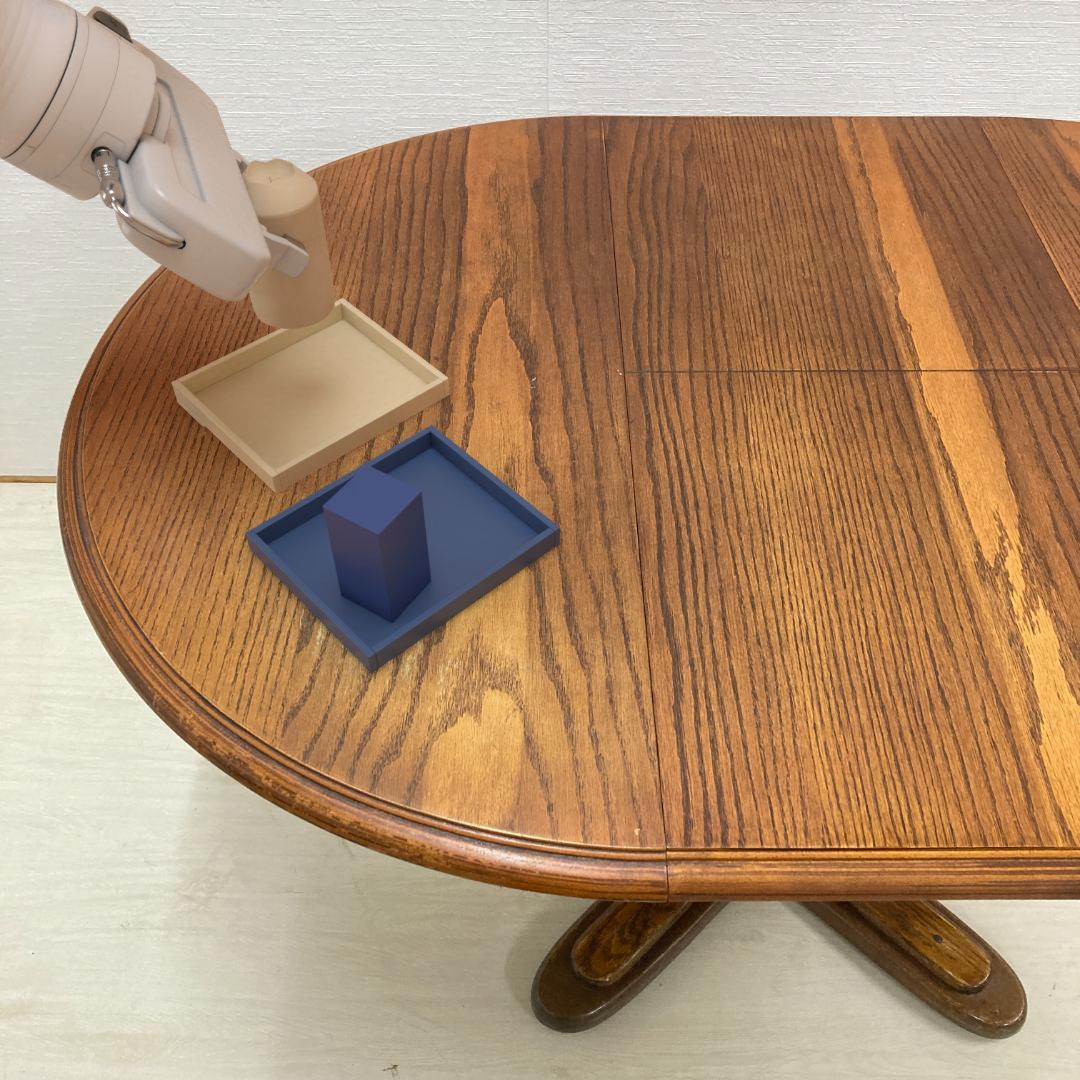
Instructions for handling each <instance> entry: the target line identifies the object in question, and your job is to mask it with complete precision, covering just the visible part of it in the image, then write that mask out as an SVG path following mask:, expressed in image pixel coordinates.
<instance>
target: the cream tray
mask: <svg viewBox="0 0 1080 1080" xmlns="http://www.w3.org/2000/svg"><path fill="white" fill-rule="evenodd" d="M171 385H172V389H173V392H174V395H175V399H176V401H177V404H178V405H179V406H180V407H182V409H184V410H185V411H186V413H188V414H189V415H190V417H192V418H193V419H194V420H195V421H196V422H197V423H198V424H199V425H200V426H201V427H202V428H204V427H205V428H206V429H208V430H209V431H210V432H211V433H212V434H213V435H214V436H215V437H216V438H217V439H218V440H219V441H220V442H221V443H222V444H223V445H224V446H226V447H227V448H228V450H230V451H231V452H232V454H233V455H234V456H236V457H237V458H238V459H239V460H240V461H241V462H242V463H244V465H245V466H246V467H247V468H248V469H250V470H251V471H252V473H254V474H255V475H256V476H257V477H258V478H259V479H260V480H261V481H262V482H263V483H264V484H265V485H266V486H268V488H270V489H271V491H273V492H274V494H278V493H280V492H282V491H284V490H285V489H287V488H289V487H291V486H292V485H294V484H296V483H298V482H299V481H302V480H303V479H304V478H306V477H308V476H310V475H312V474H313V473H315V472H317V471H318V470H321V469H323V468H324V467H325V466H327V465H329V464H331V463H333V462H334V461H336V460H339V458H341V457H344V456H345V455H347V454H349V453H350V452H352V451H354V450H356V449H357V448H359V447H361V446H362V445H364V444H367V443H368V442H370V441H371V440H373V439H375V438H376V437H378V436H380V435H382V434H384V433H385V432H387V431H389V430H390V429H392V428H394V427H396V426H398V425H399V424H402V422H404V421H406V420H408V419H410V418H411V417H413V416H416V415H417V414H419V413H421V412H423V411H424V410H427V408H429V407H431V406H433V405H435V404H436V403H438V402H440V401H441V400H443V399H445V398H447V397H449V396H450V395H451V390H450V379H449V377H448V376H446V374H444V373H442V371H440V370H439V369H437V367H435V366H433V365H432V364H431V363H429V362H428V361H427V360H425V358H423V357H422V356H420V355H419V354H418V353H416V352H415V351H413V350H412V349H411V348H409V347H408V346H407V345H406V344H404V343H403V342H401V341H400V340H399V339H398V338H396V336H394V335H392V334H391V333H390V332H389V331H387V329H385V328H383V326H381V325H379V324H378V323H377V322H375V321H374V320H373V319H372V318H370V317H369V316H367V315H366V314H365V313H363V312H362V311H361V310H359V309H358V308H357V307H356V306H354V305H353V304H351V303H350V302H349V301H348V300H346V299H345V298H344V297H342V298H340V299H338V300H335V305H334V308H333V310H332V311H331V313H330V314H329V315H328V316H327V317H326V318H324V319H323V320H321V321H320V322H318V323H316V324H313V325H310V326H307V327H303V328H297V329H281V328H278V329H277V330H275V331H273V332H271V333H269V334H267V335H264V336H262V337H260V338H259V339H256V340H254V341H253V342H250V343H248V344H246V345H244V346H242V347H239V348H238V349H236V350H234V351H232V352H230V353H228V354H225V355H224V356H222V357H220V358H218V359H216V360H214V361H212V362H209V363H208V364H206V365H204V366H201V367H199V368H198V369H195V370H194V371H191V372H189V373H187V374H185V375H183V376H181V377H179V378H177V379H175V380H173V381H171Z"/></svg>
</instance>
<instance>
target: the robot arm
mask: <svg viewBox="0 0 1080 1080" xmlns="http://www.w3.org/2000/svg"><path fill="white" fill-rule="evenodd" d="M0 160H3V161H4V162H6V163H8V164H10V165H12V166H13V167H16V168H18V169H19V170H21V171H23V172H24V173H27V174H28V175H31V176H33V177H34V178H36V179H38V180H40V181H42V182H45V183H46V184H48V185H50V186H51V187H54V188H55V189H57V190H59V191H61V192H63V193H65V194H67V195H68V196H71V197H72V198H74V199H76V200H78V201H89V200H92V199H94V198H95V197H97V196H99V195H100V198H101V200H102V202H103V204H104V205H105V206H106V207H107V208H109V209H112V210H114V213H115V219H116V222H117V226H118V229H119V230H120V232H121V233H122V234H123V236H124V238H125V239H126V240H127V242H129V243H130V244H131V245H132V246H133V247H135V248H136V249H137V250H138V251H140V252H141V253H143V254H144V255H146V256H147V257H149V259H151V260H153V261H154V262H156V263H157V264H159V265H161V266H162V267H164V268H165V269H167V270H169V271H170V272H172V273H174V274H176V276H178V277H181V279H184V280H186V281H187V282H189V283H191V284H193V285H194V286H196V287H198V288H199V289H201V290H203V291H204V292H206V293H208V294H210V295H212V296H213V297H216V298H217V299H220V300H222V301H226V302H241V301H242V300H244V299H245V298H246V297H247V296H248V295H249V292H250V291H251V289H252V288H253V287H254V286H255V285H256V283H257V282H258V281H259V279H260V278H261V277H262V275H263V274H264V273H265V271H266V270H267V268H274V269H276V270H278V271H280V272H282V273H284V274H285V275H287V276H289V277H291V278H296V277H299V276H300V275H301V274H302V272H303V271H304V270H305V269H306V267H307V266H308V265H309V263H310V258H309V255H308V254H307V251H306V249H305V247H304V245H303V244H302V243H301V242H299V241H296V240H295V239H294V238H292V237H290V236H289V235H287V234H284V235H283V236H282V237H279V236H276V235H274V234H271V233H268V231H267V228H266V227H265V226H263V225H262V224H260V223H259V221H258V218H257V216H256V213H255V210H254V207H253V205H252V202H251V199H250V196H249V194H248V191H247V188H246V186H245V183H244V180H243V177H242V175H241V174H242V173H243V172H244V170H245V169H246V168H247V166H248V165H249V163H250V162H249V161H248V160H247V159H246V158H245V157H244V156H243V155H242V154H241V153H240V152H238V151H237V150H235V149H234V148H232V145H231V142H230V139H229V136H228V133H227V131H226V129H225V126H224V124H223V120H222V117H221V115H220V112H219V109H218V106H217V105H216V103H215V102H214V100H212V99H211V97H210V96H209V95H208V94H207V93H206V91H204V90H203V89H202V88H201V87H200V86H199V85H197V84H196V83H195V82H194V81H193V80H191V79H190V78H189V77H188V76H186V75H185V74H184V73H182V72H181V71H180V70H178V69H177V68H176V67H175V66H173V65H171V63H170V62H168V61H166V60H165V59H164V58H162V57H161V56H159V55H158V54H157V53H155V52H154V51H153V50H151V49H150V48H149V47H147V46H146V45H144V44H143V43H141V42H139V41H138V40H135V39H133V38H132V36H131V34H130V30H129V28H128V26H127V25H126V24H125V22H124V21H122V20H121V19H120V18H119V17H117V16H115V15H114V14H113V13H111V12H110V11H108V10H106V9H105V8H103V7H101V6H97V5H94V6H93V7H92V8H91V9H90V10H89V11H88V12H87V13H86V14H85V15H84V14H82V13H81V12H79V11H78V10H76V9H75V8H73V7H72V6H70V5H69V4H66V2H65V3H64V2H62V1H60V0H0Z"/></svg>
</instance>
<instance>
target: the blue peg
mask: <svg viewBox="0 0 1080 1080" xmlns="http://www.w3.org/2000/svg"><path fill="white" fill-rule="evenodd" d="M323 511H324V515H325V520H326V525H327V530H328V535H329V539H330V544H331V549H332V554H333V559H334V564H335V568H336V573H337V578H338V583H339V588H340V592H341V596H343V597H345V598H347V599H349V600H350V601H352V602H354V603H356V604H358V605H360V606H362V607H363V608H365V609H367V610H369V611H371V612H373V613H374V614H376V615H378V616H380V617H382V618H384V619H386V620H387V621H389V622H391V623H393V622H394V621H395V620H396V619H397V618H398V616H399V615H400V614H401V613H402V612H403V611H404V610H405V609H406V608H407V607H408V606H409V604H410V603H411V602H412V601H413V600H414V599H415V598H416V597H417V596H418V595H419V594H420V592H421V591H422V590H423V589H424V588H425V587H426V586H427V585H428V584H429V583H430V582H431V572H430V563H429V554H428V545H427V536H426V526H425V517H424V508H423V499H422V491H420V490H418V489H416V488H414V487H412V486H410V485H408V484H406V483H404V482H402V481H400V480H398V479H396V478H393V477H391V476H389V475H387V474H385V473H383V472H381V471H379V470H377V469H375V468H373V467H371V466H369V465H366V466H365V467H364V468H363V469H362V470H361V471H360V472H358V473H357V474H356V475H355V476H354V477H353V478H352V479H351V480H350V481H349V482H348V483H347V484H346V485H345V486H344V487H343V488H341V489H340V490H339V491H338V492H337V493H336V494H335V495H334V496H333V497H332V498H331V499H330V500H329V501H328V502H327V503H326V504H324V505H323Z"/></svg>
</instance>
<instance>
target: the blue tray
mask: <svg viewBox="0 0 1080 1080" xmlns="http://www.w3.org/2000/svg"><path fill="white" fill-rule="evenodd" d="M366 465H369V466H371V467H373V468H375V469H377V470H379V471H381V472H383V473H385V474H387V475H389V476H391V477H393V478H396V479H398V480H400V481H402V482H404V483H406V484H408V485H410V486H412V487H414V488H416V489H418V490H420V491H422V499H423V508H424V517H425V526H426V536H427V545H428V554H429V563H430V572H431V582H430V583H429V584H428V585H427V586H426V587H425V588H424V589H423V590H422V591H421V592H420V594H419V595H418V596H417V597H416V598H415V599H414V600H413V601H412V602H411V603H410V604H409V606H408V607H407V608H406V609H405V610H404V611H403V612H402V613H401V614H400V615H399V616H398V618H397V619H396V620H395V621H394V622H393V623H391V622H389V621H387V620H386V619H384V618H382V617H380V616H378V615H376V614H374V613H373V612H371V611H369V610H367V609H365V608H363V607H362V606H360V605H358V604H356V603H354V602H352V601H350V600H349V599H347V598H345V597H343V596H341V592H340V588H339V583H338V578H337V573H336V568H335V564H334V559H333V554H332V549H331V544H330V539H329V535H328V530H327V525H326V520H325V515H324V511H323V505H324V504H326V503H327V502H328V501H329V500H330V499H331V498H332V497H333V496H334V495H335V494H336V493H337V492H338V491H339V490H340V489H341V488H343V487H344V486H345V485H346V484H347V483H348V482H349V481H350V480H351V479H352V478H353V477H354V476H355V475H356V474H357V473H358V472H360V471H361V470H362V469H363V468H364V467H365V466H366ZM244 534H245V537H246V541H247V545H248V548H249V550H250V551H251V552H252V554H254V555H255V556H256V557H257V559H259V560H260V562H261V563H263V565H264V566H266V568H268V570H270V572H272V574H273V575H274V576H275V577H276V578H277V579H278V580H279V581H280V582H281V583H282V584H283V585H284V586H285V587H286V588H287V589H288V590H289V591H290V592H291V593H292V594H293V595H294V596H295V597H296V598H297V599H298V600H299V601H300V602H301V603H302V604H303V605H304V606H305V607H306V608H307V609H308V611H310V612H311V614H313V615H314V617H316V618H317V619H318V621H320V622H321V623H322V625H323V626H324V627H325V628H326V629H327V630H328V631H329V632H330V633H331V634H332V635H333V636H334V637H335V638H336V639H337V640H338V641H339V642H340V643H341V644H342V645H343V646H344V647H345V648H346V649H347V650H348V651H349V652H350V653H351V655H353V656H354V657H355V658H356V659H357V660H358V661H359V662H360V663H361V665H363V666H364V668H366V670H368V671H369V672H370V673H371V674H373V673H374V672H376V671H377V670H379V669H380V668H382V667H384V665H386V664H387V663H389V662H390V661H392V660H393V659H395V658H397V656H399V655H400V654H402V653H403V652H405V651H406V650H408V649H409V648H411V647H413V646H414V645H415V644H417V643H419V642H420V641H421V640H422V639H424V638H425V637H427V636H428V635H430V634H431V633H433V632H434V631H435V630H437V629H438V628H440V627H442V626H443V625H444V624H446V623H447V622H448V621H450V620H451V619H453V618H454V617H456V616H457V615H458V614H460V613H461V612H463V611H464V610H466V609H468V608H469V607H470V606H471V605H473V604H475V603H476V602H478V601H479V600H481V599H482V598H484V597H485V596H487V595H488V594H489V593H491V592H492V591H494V590H495V589H496V588H498V587H499V586H501V585H502V584H504V583H505V582H506V581H508V580H509V579H511V578H512V577H514V576H515V575H517V574H518V573H520V572H521V571H523V570H524V569H525V568H527V567H529V566H530V565H531V564H533V563H535V562H536V561H537V560H539V559H540V558H541V557H543V556H544V555H546V554H547V553H549V552H551V550H553V549H554V548H556V547H557V546H559V545H560V543H561V527H560V526H559V524H557V523H555V522H554V521H553V520H551V519H550V518H549V517H548V516H547V515H546V514H544V513H543V512H541V511H540V510H539V509H538V508H536V507H535V506H534V505H533V504H531V503H530V502H529V501H528V500H527V499H525V498H524V497H523V496H521V495H520V494H519V493H518V492H516V491H515V490H514V489H513V488H511V487H510V486H509V485H508V484H506V482H504V481H503V480H501V479H500V478H499V477H498V476H497V475H495V474H494V473H493V472H492V471H490V470H489V469H488V468H486V467H485V466H484V465H483V464H481V463H480V462H479V461H478V460H476V458H474V457H473V456H471V454H469V453H468V452H467V451H465V450H464V449H463V448H462V447H460V446H459V445H458V444H457V443H455V442H454V441H453V440H451V438H449V437H448V436H446V435H445V434H444V433H443V432H441V430H439V429H438V428H437V427H435V426H434V425H433V424H430V425H428V426H427V427H425V428H423V429H421V430H419V431H418V432H417V433H415V434H413V435H411V436H410V437H408V438H406V439H404V440H402V441H401V442H399V443H397V444H396V445H394V446H392V447H390V448H389V449H387V450H385V451H384V452H382V453H380V454H379V455H377V456H374V457H373V458H372V459H369V461H366V462H365V463H363V464H361V465H359V466H358V467H356V468H354V469H353V470H350V471H349V472H347V473H346V474H344V475H342V476H340V477H339V478H337V479H335V480H334V481H332V482H330V483H328V484H327V485H325V486H323V487H322V488H320V489H318V490H317V491H315V492H313V493H312V494H310V495H308V496H306V497H304V498H303V499H300V500H299V501H298V502H295V503H294V504H292V505H291V506H289V507H287V508H286V509H284V510H282V511H280V512H279V513H277V514H275V515H274V516H272V517H270V518H268V519H267V520H265V521H263V522H261V523H259V524H257V525H256V526H254V527H252V528H251V529H249V530H248V531H246V532H245V533H244Z"/></svg>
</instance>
